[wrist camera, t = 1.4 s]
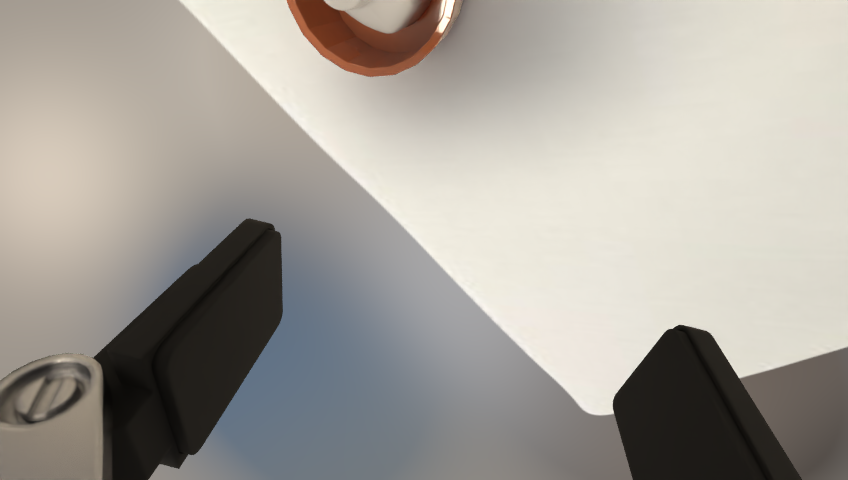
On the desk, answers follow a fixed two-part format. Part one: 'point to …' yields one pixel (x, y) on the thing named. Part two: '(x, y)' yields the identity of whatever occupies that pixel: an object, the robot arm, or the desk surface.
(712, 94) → the desk surface
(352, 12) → the eye dropper bottle
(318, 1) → the pencil cup
